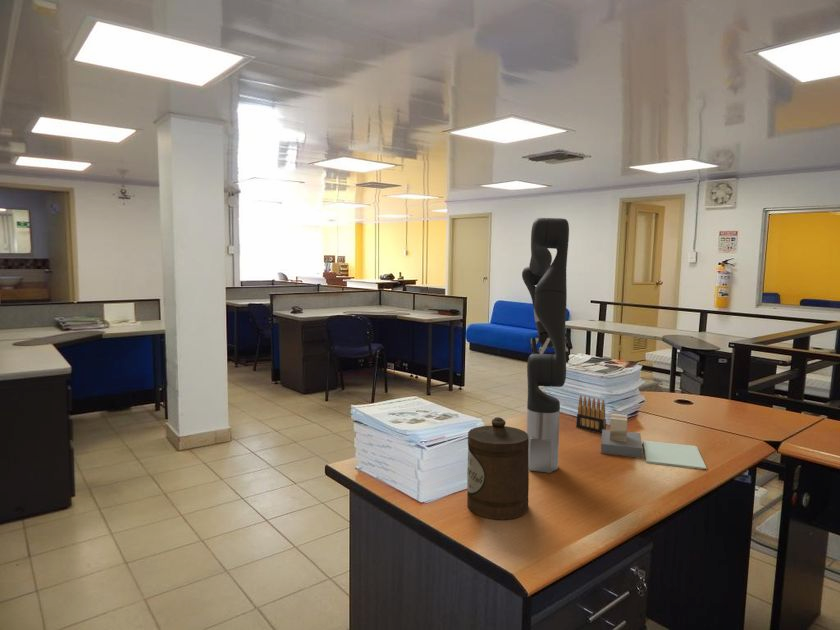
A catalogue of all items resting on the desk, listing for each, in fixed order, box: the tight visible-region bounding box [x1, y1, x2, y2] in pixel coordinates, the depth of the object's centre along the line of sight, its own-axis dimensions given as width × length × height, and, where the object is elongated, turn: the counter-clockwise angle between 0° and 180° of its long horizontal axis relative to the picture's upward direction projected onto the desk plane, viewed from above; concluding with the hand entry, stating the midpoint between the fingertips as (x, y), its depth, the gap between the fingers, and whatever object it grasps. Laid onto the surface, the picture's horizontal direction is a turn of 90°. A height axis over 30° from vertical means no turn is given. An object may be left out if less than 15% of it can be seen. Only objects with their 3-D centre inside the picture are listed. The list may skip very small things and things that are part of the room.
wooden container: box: [466, 416, 530, 521], centre depth 130 cm, size 15×15×22 cm
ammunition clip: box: [575, 394, 607, 435], centre depth 191 cm, size 11×2×12 cm, turn 43°
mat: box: [642, 440, 708, 470], centre depth 166 cm, size 20×16×1 cm
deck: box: [600, 429, 644, 459], centre depth 173 cm, size 16×12×3 cm
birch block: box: [609, 413, 628, 442], centre depth 173 cm, size 6×5×7 cm
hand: (555, 364), depth 187 cm, fingers open, 8 cm apart
